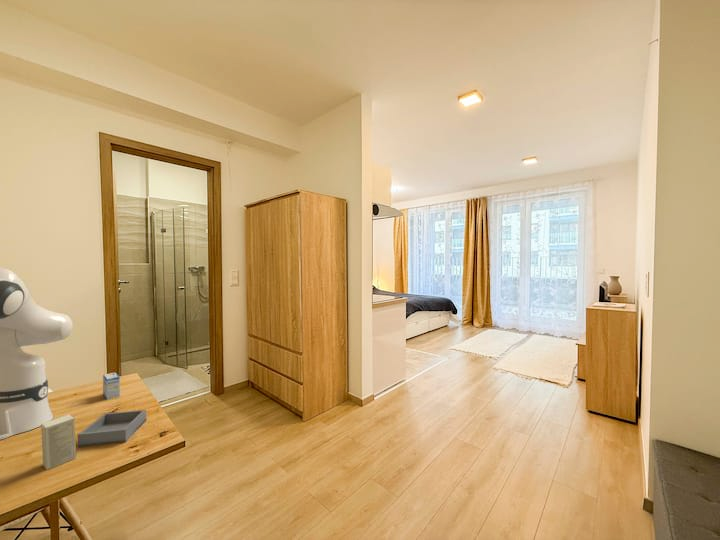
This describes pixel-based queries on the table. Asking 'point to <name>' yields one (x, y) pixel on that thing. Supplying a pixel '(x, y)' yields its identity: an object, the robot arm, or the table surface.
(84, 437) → the tray
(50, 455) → the skincare box
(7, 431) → the robot arm
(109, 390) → the medicine box
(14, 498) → the table surface
